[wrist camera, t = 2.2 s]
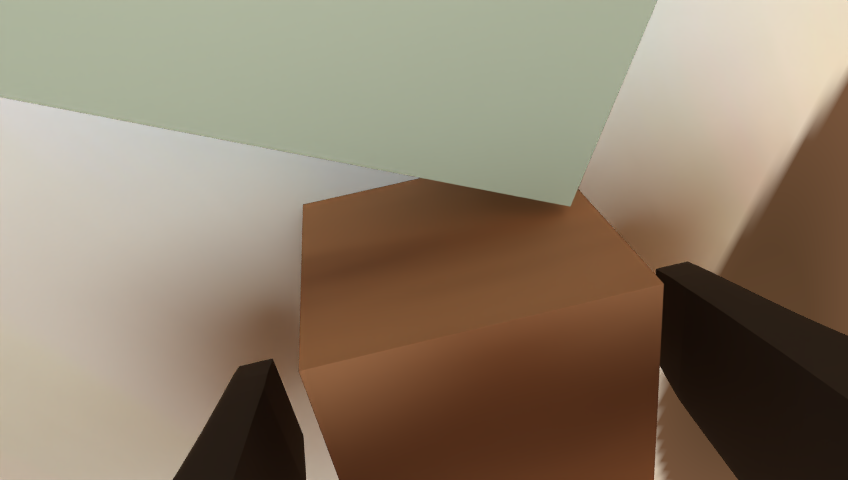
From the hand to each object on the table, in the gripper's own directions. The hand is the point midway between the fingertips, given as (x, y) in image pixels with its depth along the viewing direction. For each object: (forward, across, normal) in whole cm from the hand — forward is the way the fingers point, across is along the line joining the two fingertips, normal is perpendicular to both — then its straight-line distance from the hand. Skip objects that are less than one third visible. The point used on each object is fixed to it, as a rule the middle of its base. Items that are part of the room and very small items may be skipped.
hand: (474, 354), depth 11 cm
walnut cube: (+3, 0, 0) cm, 3 cm away
